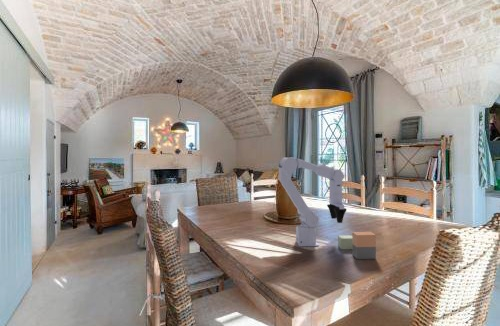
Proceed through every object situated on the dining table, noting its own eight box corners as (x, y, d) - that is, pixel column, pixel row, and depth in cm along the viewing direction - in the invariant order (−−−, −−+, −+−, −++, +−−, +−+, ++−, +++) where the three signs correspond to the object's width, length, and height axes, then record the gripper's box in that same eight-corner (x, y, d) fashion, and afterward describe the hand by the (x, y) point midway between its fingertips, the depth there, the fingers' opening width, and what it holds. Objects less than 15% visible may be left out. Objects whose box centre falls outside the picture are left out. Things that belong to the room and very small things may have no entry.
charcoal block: (356, 259, 102) (356, 247, 101) (352, 255, 106) (352, 243, 105) (375, 258, 102) (375, 246, 102) (370, 254, 106) (370, 243, 106)
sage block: (341, 249, 113) (341, 238, 112) (337, 246, 117) (338, 235, 116) (358, 249, 113) (358, 238, 113) (354, 245, 117) (354, 235, 117)
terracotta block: (356, 247, 101) (356, 235, 101) (352, 243, 105) (352, 232, 105) (375, 246, 102) (375, 234, 102) (370, 243, 106) (370, 231, 106)
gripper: (350, 195, 115) (351, 224, 115) (338, 190, 129) (338, 216, 130) (335, 196, 114) (336, 224, 115) (324, 191, 129) (325, 217, 129)
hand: (336, 220), depth 122 cm, fingers open, 7 cm apart
